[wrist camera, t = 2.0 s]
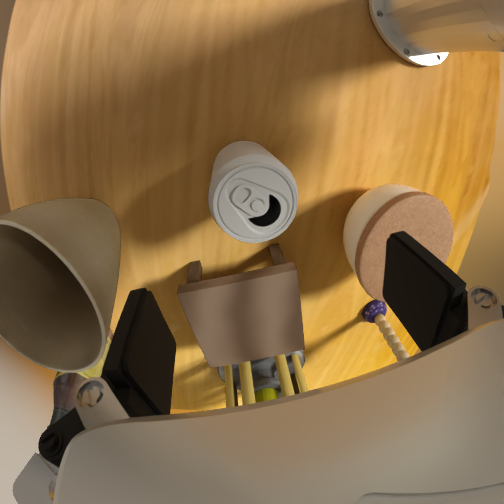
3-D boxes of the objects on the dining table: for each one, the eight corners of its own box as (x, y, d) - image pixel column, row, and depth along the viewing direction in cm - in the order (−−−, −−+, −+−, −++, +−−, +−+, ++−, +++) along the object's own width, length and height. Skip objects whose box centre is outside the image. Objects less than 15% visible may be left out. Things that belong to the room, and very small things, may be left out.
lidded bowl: (421, 228, 35) (470, 267, 25) (353, 278, 37) (388, 332, 28) (391, 152, 29) (451, 176, 19) (309, 209, 32) (346, 256, 22)
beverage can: (247, 208, 31) (261, 264, 20) (200, 174, 29) (187, 214, 18) (285, 165, 29) (322, 199, 18) (238, 127, 27) (249, 136, 16)
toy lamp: (389, 309, 41) (439, 386, 27) (367, 326, 42) (411, 406, 28) (379, 294, 39) (434, 376, 25) (355, 312, 40) (402, 399, 26)
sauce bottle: (79, 309, 35) (30, 420, 18) (116, 323, 37) (80, 442, 20) (79, 337, 38) (41, 439, 20) (113, 349, 40) (85, 457, 22)
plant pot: (160, 180, 28) (107, 250, 14) (141, 290, 35) (109, 390, 21) (48, 157, 25) (-46, 204, 11) (46, 262, 31) (-12, 340, 17)
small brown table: (282, 238, 33) (296, 269, 27) (293, 313, 39) (304, 349, 33) (184, 259, 33) (177, 294, 27) (210, 330, 39) (210, 367, 33)
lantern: (305, 324, 40) (358, 483, 18) (300, 378, 47) (334, 502, 25) (210, 336, 40) (214, 506, 18) (223, 388, 46) (233, 518, 25)
